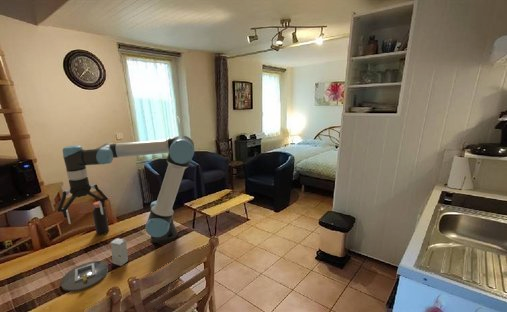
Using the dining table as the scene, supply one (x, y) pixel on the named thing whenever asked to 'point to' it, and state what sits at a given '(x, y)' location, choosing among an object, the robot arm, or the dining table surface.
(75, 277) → the flange plate
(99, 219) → the bottle
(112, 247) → the skincare box
